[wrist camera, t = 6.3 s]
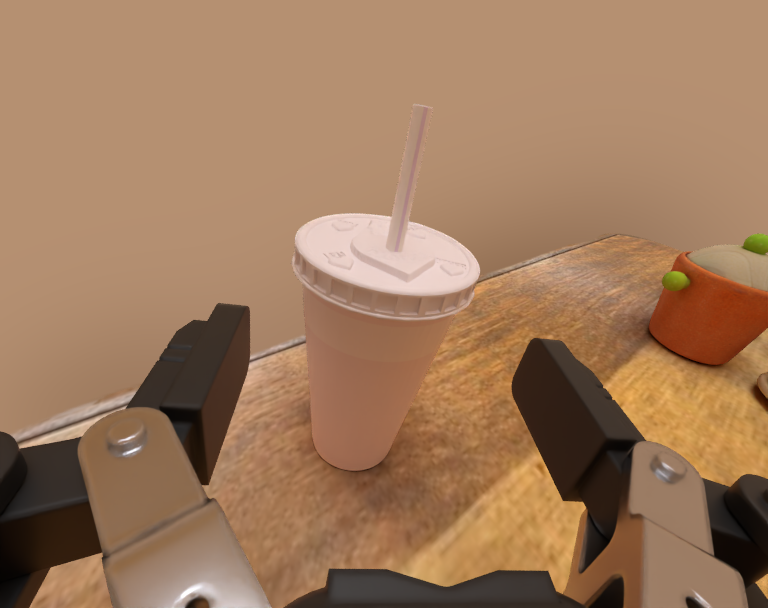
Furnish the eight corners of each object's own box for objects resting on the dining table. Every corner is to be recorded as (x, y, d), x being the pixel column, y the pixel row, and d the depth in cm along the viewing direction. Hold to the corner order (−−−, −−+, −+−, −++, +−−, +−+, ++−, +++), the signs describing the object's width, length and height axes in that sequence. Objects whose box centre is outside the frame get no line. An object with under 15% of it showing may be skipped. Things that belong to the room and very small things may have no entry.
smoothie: (279, 509, 14) (305, 92, 7) (282, 387, 20) (299, 75, 13) (437, 493, 16) (582, 142, 9) (401, 385, 21) (475, 109, 14)
